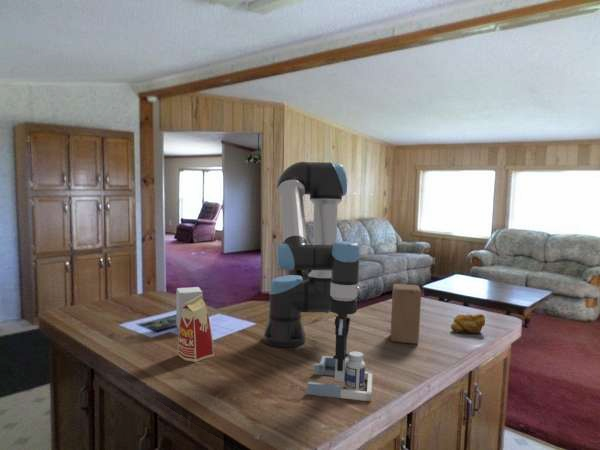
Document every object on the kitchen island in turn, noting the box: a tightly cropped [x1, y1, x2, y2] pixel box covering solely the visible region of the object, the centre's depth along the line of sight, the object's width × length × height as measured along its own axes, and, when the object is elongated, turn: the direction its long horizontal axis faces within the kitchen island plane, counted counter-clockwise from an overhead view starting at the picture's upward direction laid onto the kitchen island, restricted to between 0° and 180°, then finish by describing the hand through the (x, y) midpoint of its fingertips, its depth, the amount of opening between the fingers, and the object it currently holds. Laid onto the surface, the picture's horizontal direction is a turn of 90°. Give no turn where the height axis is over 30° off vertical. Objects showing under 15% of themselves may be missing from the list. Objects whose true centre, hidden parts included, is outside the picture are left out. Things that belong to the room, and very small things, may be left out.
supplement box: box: [175, 286, 204, 331], centre depth 175 cm, size 9×9×15 cm
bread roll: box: [450, 313, 486, 335], centre depth 181 cm, size 13×10×8 cm
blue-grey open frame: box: [306, 355, 349, 399], centre depth 131 cm, size 10×21×3 cm, turn 170°
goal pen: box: [340, 371, 373, 402], centre depth 127 cm, size 8×14×2 cm, turn 170°
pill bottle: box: [344, 350, 366, 391], centre depth 126 cm, size 5×5×10 cm
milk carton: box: [177, 294, 215, 363], centre depth 146 cm, size 9×9×20 cm
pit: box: [322, 366, 335, 378], centre depth 137 cm, size 6×7×1 cm
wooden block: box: [390, 283, 422, 345], centre depth 168 cm, size 10×10×20 cm
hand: (339, 380), depth 127 cm, fingers closed
